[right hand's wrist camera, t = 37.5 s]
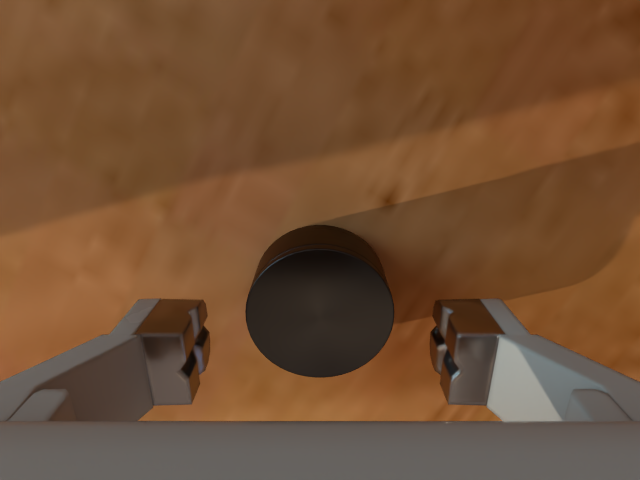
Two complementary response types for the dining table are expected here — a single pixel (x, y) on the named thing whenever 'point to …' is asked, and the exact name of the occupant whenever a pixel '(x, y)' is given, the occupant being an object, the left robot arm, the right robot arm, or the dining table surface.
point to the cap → (319, 302)
